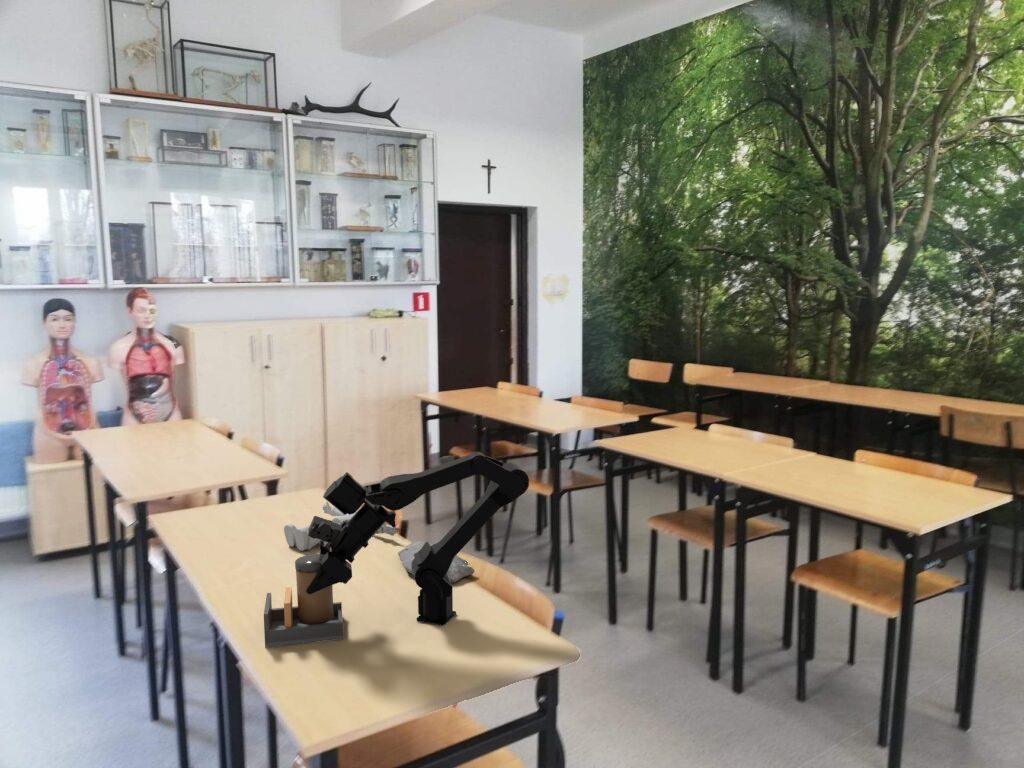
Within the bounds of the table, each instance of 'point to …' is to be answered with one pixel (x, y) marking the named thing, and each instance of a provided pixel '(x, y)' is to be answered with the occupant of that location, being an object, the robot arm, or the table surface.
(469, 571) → the stone
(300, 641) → the tray
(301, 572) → the jar
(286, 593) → the block
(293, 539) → the toy
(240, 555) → the table surface
